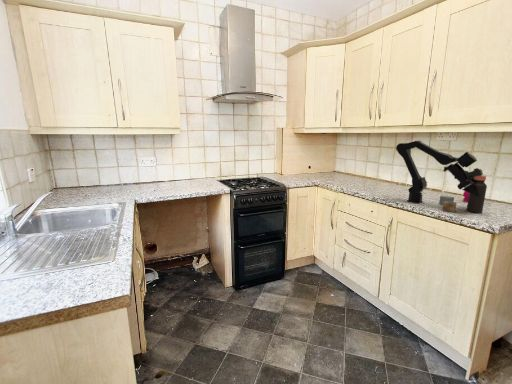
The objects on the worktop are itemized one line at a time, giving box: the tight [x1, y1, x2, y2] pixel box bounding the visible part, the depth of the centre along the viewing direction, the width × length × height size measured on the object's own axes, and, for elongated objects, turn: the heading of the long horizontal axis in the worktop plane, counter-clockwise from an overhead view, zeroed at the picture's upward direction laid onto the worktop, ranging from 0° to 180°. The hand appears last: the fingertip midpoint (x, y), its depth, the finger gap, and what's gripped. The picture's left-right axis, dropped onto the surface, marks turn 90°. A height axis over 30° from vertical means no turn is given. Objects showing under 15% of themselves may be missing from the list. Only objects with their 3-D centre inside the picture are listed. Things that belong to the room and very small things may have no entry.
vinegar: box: [466, 174, 488, 214], centre depth 144 cm, size 7×7×20 cm
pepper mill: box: [462, 169, 474, 203], centre depth 166 cm, size 7×7×20 cm
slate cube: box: [438, 195, 455, 206], centre depth 161 cm, size 5×5×5 cm
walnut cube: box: [442, 201, 457, 214], centre depth 148 cm, size 5×5×5 cm
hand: (480, 195), depth 143 cm, fingers closed on vinegar, 6 cm apart
